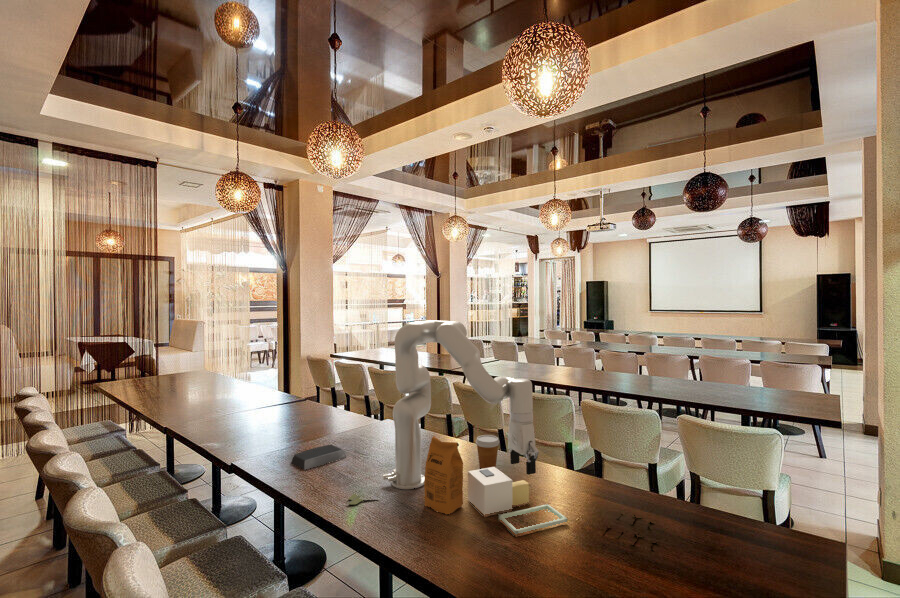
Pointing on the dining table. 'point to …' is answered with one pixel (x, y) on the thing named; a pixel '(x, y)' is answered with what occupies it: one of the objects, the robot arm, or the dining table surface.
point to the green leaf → (354, 499)
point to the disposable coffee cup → (487, 450)
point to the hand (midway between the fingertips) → (522, 468)
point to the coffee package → (443, 477)
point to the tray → (537, 526)
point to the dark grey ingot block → (318, 456)
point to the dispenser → (489, 490)
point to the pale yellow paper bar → (520, 492)
